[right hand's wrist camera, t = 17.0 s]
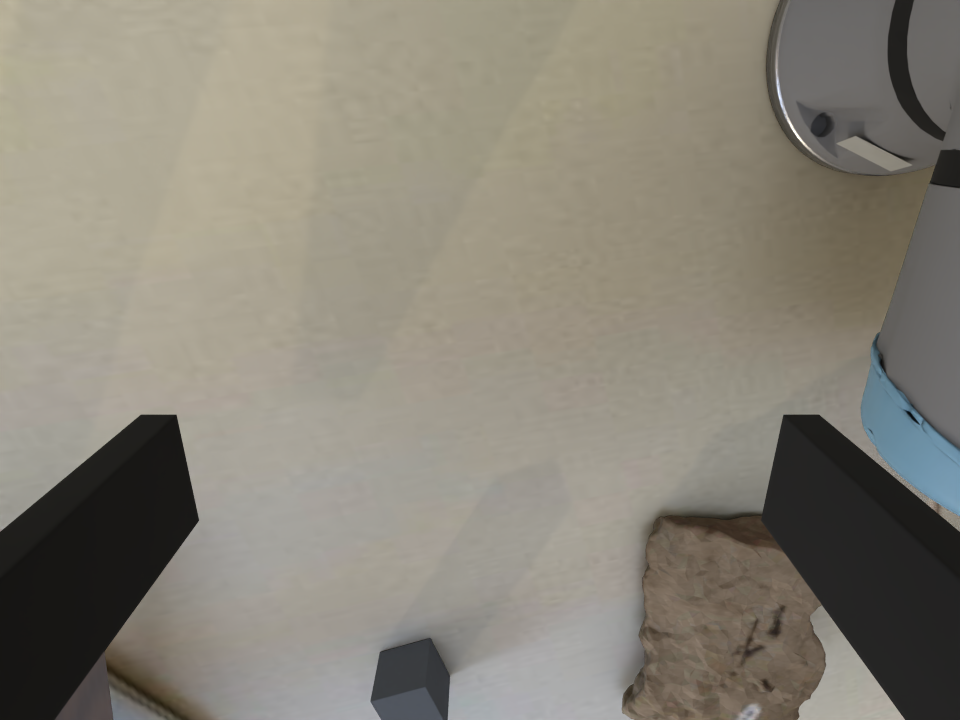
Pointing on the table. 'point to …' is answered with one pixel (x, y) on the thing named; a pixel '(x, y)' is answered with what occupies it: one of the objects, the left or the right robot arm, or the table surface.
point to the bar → (90, 697)
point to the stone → (723, 625)
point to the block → (411, 683)
